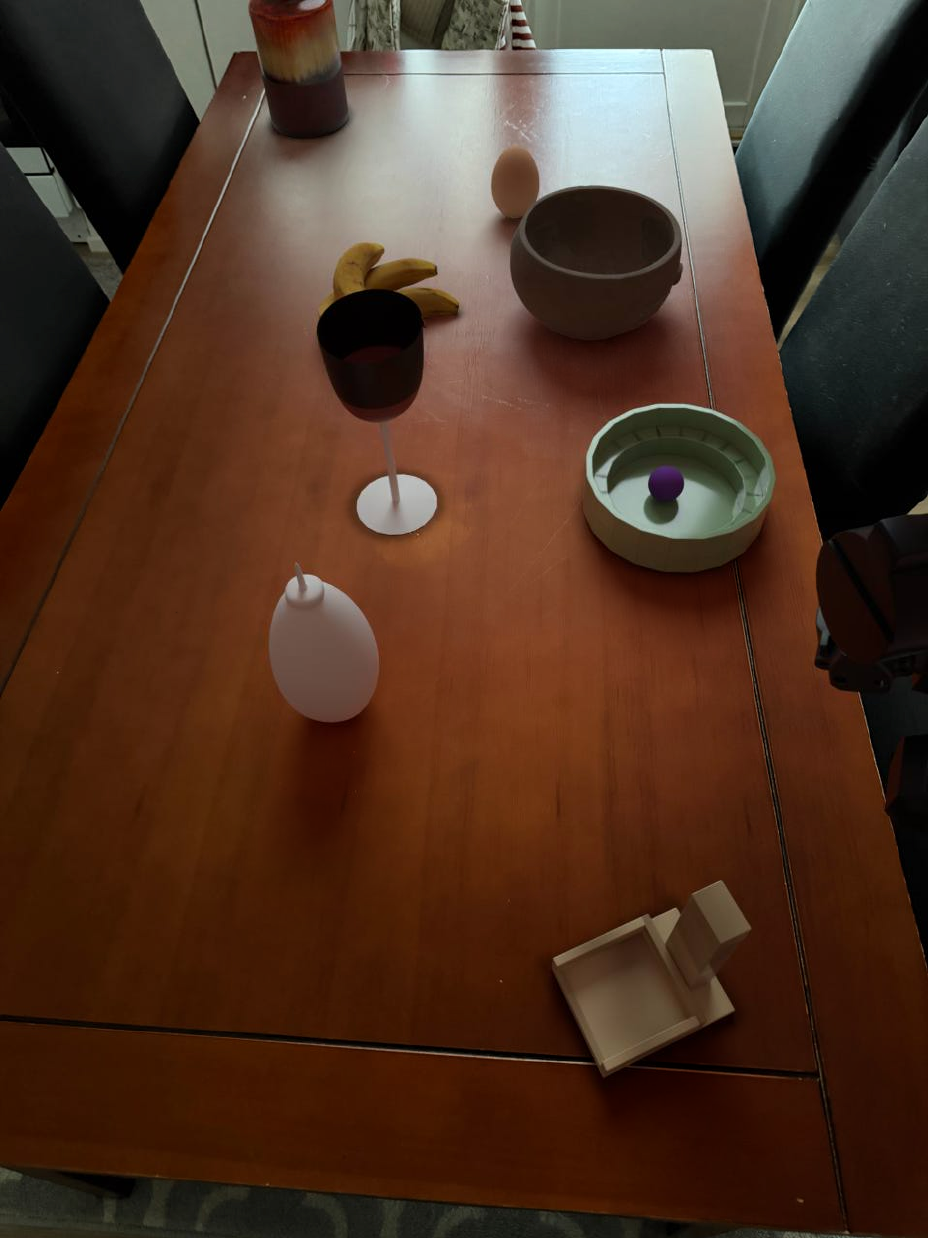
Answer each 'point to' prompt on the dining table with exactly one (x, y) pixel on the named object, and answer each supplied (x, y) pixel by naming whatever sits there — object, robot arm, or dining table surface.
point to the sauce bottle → (322, 650)
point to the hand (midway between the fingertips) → (912, 745)
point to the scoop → (652, 978)
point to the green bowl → (711, 499)
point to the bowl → (595, 260)
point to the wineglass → (379, 392)
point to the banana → (388, 279)
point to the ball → (666, 483)
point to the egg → (515, 182)
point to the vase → (300, 65)
